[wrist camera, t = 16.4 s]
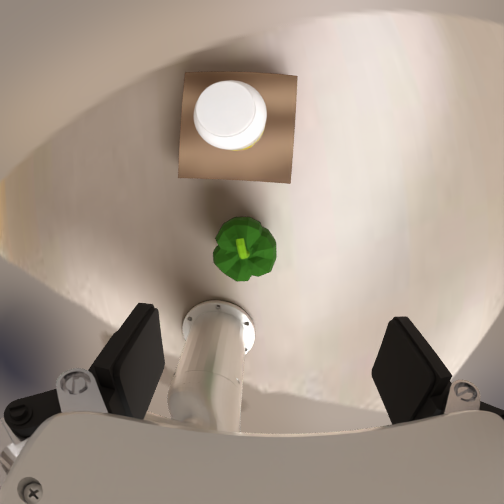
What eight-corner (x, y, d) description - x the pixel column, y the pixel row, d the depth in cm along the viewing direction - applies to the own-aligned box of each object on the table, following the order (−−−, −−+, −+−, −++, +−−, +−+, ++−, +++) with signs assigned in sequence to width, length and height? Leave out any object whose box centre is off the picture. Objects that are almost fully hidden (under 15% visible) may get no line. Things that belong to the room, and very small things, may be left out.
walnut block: (285, 180, 40) (290, 183, 34) (189, 175, 40) (178, 178, 34) (292, 87, 35) (297, 75, 30) (195, 83, 35) (185, 72, 30)
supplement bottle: (205, 107, 31) (176, 81, 19) (257, 94, 31) (257, 60, 19) (217, 157, 33) (193, 157, 21) (270, 145, 33) (276, 137, 21)
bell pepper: (268, 268, 44) (270, 299, 35) (215, 258, 44) (204, 286, 35) (280, 216, 42) (286, 234, 32) (225, 205, 41) (215, 219, 32)
